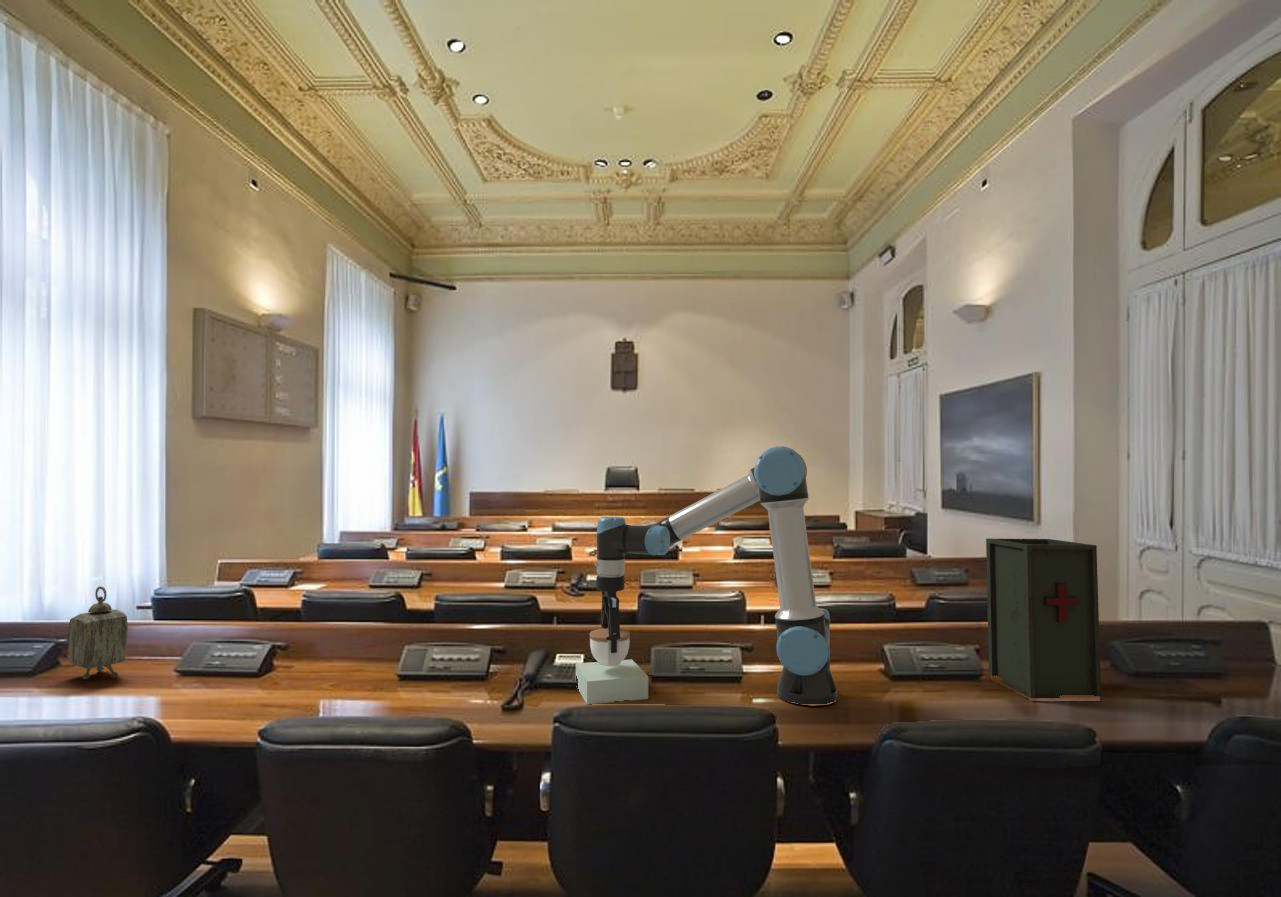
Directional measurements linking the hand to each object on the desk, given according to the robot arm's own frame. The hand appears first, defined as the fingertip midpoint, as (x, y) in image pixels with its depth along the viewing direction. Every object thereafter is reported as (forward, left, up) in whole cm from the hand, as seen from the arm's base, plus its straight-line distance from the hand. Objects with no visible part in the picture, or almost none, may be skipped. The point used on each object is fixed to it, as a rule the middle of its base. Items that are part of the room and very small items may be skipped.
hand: (609, 658), depth 166 cm
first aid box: (-116, +19, -9) cm, 118 cm away
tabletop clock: (+139, -37, -9) cm, 144 cm away
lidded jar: (0, 0, -1) cm, 1 cm away
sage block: (-1, 0, -9) cm, 9 cm away
